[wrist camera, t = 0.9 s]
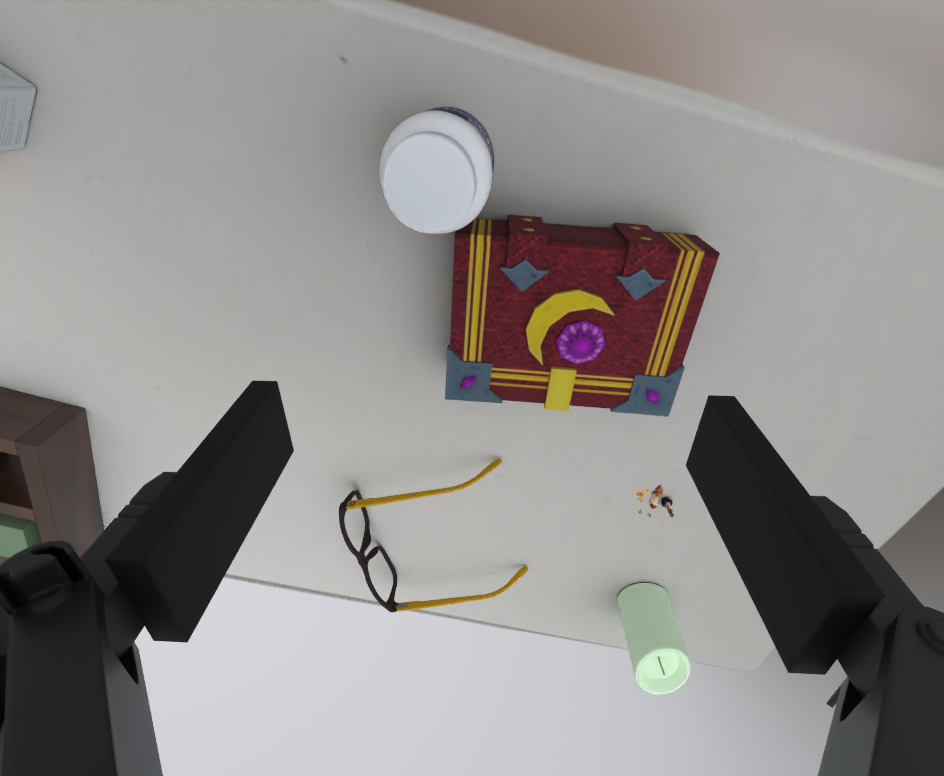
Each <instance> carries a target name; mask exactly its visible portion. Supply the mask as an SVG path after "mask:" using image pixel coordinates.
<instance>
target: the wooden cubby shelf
mask: <svg viewBox="0 0 944 776" xmlns="http://www.w3.org/2000/svg"><path fill="white" fill-rule="evenodd" d="M0 513H1V514H5V515H10V516H14V517H18V518H23V519H27V520H31V521H36V522H37V525H38V529H39V533H40V537H41V541H42V543H43V542H47V541H64V542H67V543H70V544H71V545H72V546H73V548H74V550H75V551H76V553H77V554H78V556H79V557H81V556H82V555H83V554H84V553H85V552H86V551H87V549H88V548H89V547H90V546H91V545H92V544H93V543H94V541H95V540H96V539H97V538H98V537H99V536H100V535H101V534H102V532H103V531H104V528H103V522H102V516H101V509H100V503H99V496H98V490H97V483H96V477H95V470H94V464H93V458H92V451H91V445H90V438H89V432H88V425H87V419H86V413H85V409H83V408H79V407H75V406H72V405H68V404H64V403H60V402H56V401H52V400H48V399H44V398H40V397H36V396H33V395H29V394H25V393H21V392H17V391H13V390H9V389H5V388H1V387H0ZM7 559H9V558H8V557H4V556H0V564H2V563H3V562H5V561H6V560H7Z"/></svg>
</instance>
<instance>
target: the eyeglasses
mask: <svg viewBox="0 0 944 776" xmlns="http://www.w3.org/2000/svg"><path fill="white" fill-rule="evenodd" d="M501 462H502V460H501V459H496V460H494V461H493V462H492V463H491V464H489V465H488V466H487V467H486V468H485V469H484V470H483V471H482V472H481V473H480V474H478V475H477V476H476V477H474V478H473V479H471V480H469V481H467V482H465V483H463V484H460V485H457V486H454V487H450V488H443V489H436V490H429V491H422V492H415V493H408V494H401V495H394V496H387V497H380V498H368V499H362V498H361V495H360V493H359V491H357V490H356V491H352V492H351V493H350V494H349V495H348V496H347V497H346V499H345V500H344V501H343V502H342V503H341V504H340V507H339V522H340V528H341V531H342V535H343V537H344V540H345V542H346V544H347V546H348V548H349V550H350V551H351V552H352V553H353V554H354V555H355V556H356V558H357V560H358V563H359V564H360V566H361V567H362V569H363V572H364V575H365V579H366V582H367V584H368V587H369V589H370V590H371V592H372V594H373V595H374V597H375V598H376V599H377V601H378V602H379V603H380V604H381V605H382V606H383V607H385V608H386V609H387V610H388V611H390V612H396V611H405V610H413V609H421V608H428V607H434V606H441V605H448V604H454V603H461V602H467V601H474V600H481V599H487V598H491V597H494V596H496V595H499V594H501V593H502V592H504V591H505V590H507V589H508V588H509V587H510V586H511V585H513V584H514V583H515V582H516V581H517V580H518V579H519V578H520V577H522V576H523V575H524V574H525V573H526V572H527V570H528V567H526V566H524V567H522V568H521V569H520V570H519V571H518V572H517V573H516V574H515V575H514V576H513V578H512V579H511V580H510V581H509V582H508V583H507V584H506V585H505V586H504V587H502V588H500V589H499V590H497V591H495V592H492V593H489V594H484V595H475V596H466V597H457V598H448V599H439V600H430V601H414V602H404V603H396V602H395V601H394V596H395V591H396V586H397V574H396V571H395V569H394V567H393V565H392V563H391V561H390V559H389V557H388V555H387V554H386V552H385V551H384V549H383V548H382V547H381V546H377V547H374V548H373V549H372V550H371V551H370V552H369V554H368V555H367V556H366V557H365V555H364V552H365V550H366V549H367V548H368V546H369V545H370V543H371V535H370V529H369V518H368V514H367V511H366V508H365V507H367V506H373V505H379V504H385V503H390V502H396V501H402V500H407V499H413V498H419V497H425V496H430V495H436V494H442V493H447V492H452V491H456V490H460V489H463V488H465V487H467V486H469V485H471V484H473V483H475V482H476V481H478V480H479V479H481V478H482V477H483V476H485V475H486V474H488V473H489V472H490V471H492V470H493V469H495V468H496V467H497V466H498V465H500V464H501ZM354 495H356V497H357V499H358V500H354V501H351V499H352V498H353V496H354ZM360 507H361V509H362V512H363V515H364V518H365V532H364V537H363V542H362V546H361V549H360V551H359V552H358V551H357V550H356V549H355V548H354V547H353V545H352V543H351V541H350V539H349V537H348V535H347V532H346V529H345V524H344V516H345V512H346V510H347V509H353V508H360ZM378 549H379V550H380V551H381V553H382V554H383V556H384V558H385V560H386V562H387V564H388V565H389V567H390V569H391V571H392V574H393V586H392V590H391V593H390V596H389V599H388V600H387V602H385V601H383V600H382V599H381V598H380V596H379V595H378V593H377V592H376V590H375V588H374V586H373V584H372V582H371V579H370V576H369V572H368V562H369V560H370V559H371V558H373V557H374V556H375V555H376V554H377V552H378Z"/></svg>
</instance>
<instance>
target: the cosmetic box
mask: <svg viewBox="0 0 944 776" xmlns="http://www.w3.org/2000/svg"><path fill="white" fill-rule="evenodd" d="M35 93H36V87H35V86H34V85H32V84H31V83H29V82H28V81H26V80H25V79H23V78H22V77H20V76H19V75H17V74H16V73H14V72H13V71H11V70H10V69H8V68H7V67H5V66H4V65H2V64H1V63H0V152H6V151H12V150H19V149H23V148H24V147H25V143H26V137H27V132H28V127H29V122H30V117H31V112H32V107H33V103H34V98H35Z"/></svg>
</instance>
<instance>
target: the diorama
mask: <svg viewBox="0 0 944 776" xmlns="http://www.w3.org/2000/svg"><path fill="white" fill-rule="evenodd" d="M656 490H657V491H654V493H655V494H654V493H653V492H651V497H650V500H649V501H650V503H651V504H650V506H651V508H652V509H654V508H656V507H657V506H658V504H659V503H658V500H659V497H660V496H661V495H662V491H663V489H662V487H661V486H658V488H656ZM647 491H649V489H645V490H644V491H642V492H641V493H637V494H636V495H637V496H639V497H638V498H639V501H641V502H642V496H643V495H644V493H645V492H647ZM671 505H672V500H670V499H668V498H664V499H663V501H662V506H664V507H666V508H667V510H668V512H669V513H670V516H671V517H674V514H673V513H672V511H673V510H672V509H670V508H669V506H671ZM642 511H643V510H642ZM642 511H641V510H640V512H639V513H640V514H641V512H642ZM648 515H649V517H651V516H650V514H648Z"/></svg>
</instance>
